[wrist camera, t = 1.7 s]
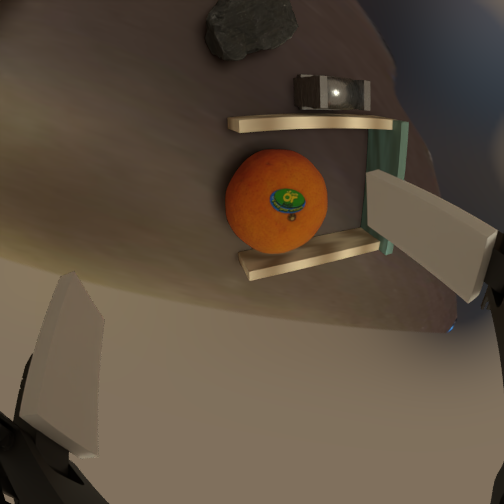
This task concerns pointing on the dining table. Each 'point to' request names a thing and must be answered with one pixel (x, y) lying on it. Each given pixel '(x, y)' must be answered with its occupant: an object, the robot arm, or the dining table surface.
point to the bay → (378, 157)
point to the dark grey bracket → (331, 93)
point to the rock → (248, 27)
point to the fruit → (276, 201)
